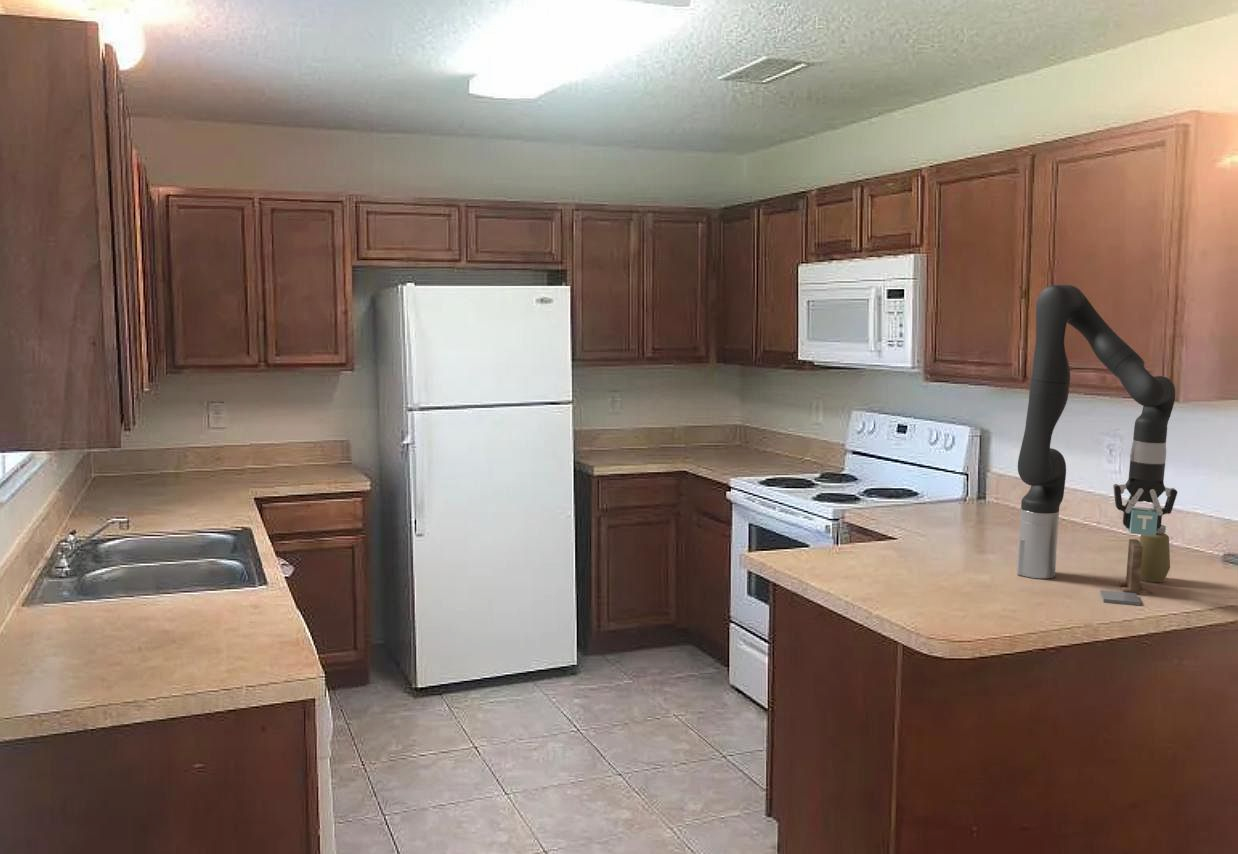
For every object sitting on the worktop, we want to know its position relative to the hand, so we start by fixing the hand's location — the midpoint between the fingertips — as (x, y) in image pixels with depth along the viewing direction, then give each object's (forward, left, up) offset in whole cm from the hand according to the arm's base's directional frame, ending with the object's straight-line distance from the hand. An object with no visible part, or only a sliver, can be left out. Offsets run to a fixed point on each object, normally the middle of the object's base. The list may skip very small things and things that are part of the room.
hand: (1141, 528), depth 250 cm
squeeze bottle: (+6, +19, -17) cm, 26 cm away
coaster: (-4, -3, -17) cm, 18 cm away
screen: (0, +7, -17) cm, 18 cm away
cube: (0, 0, -1) cm, 1 cm away
